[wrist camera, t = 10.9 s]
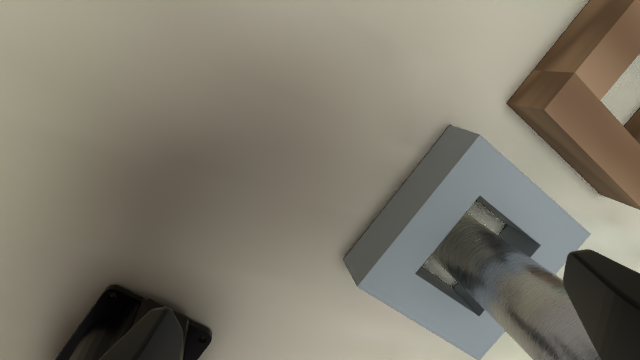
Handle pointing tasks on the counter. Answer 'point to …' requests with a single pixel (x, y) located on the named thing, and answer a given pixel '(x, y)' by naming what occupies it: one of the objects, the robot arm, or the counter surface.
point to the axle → (515, 292)
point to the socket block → (438, 220)
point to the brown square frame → (589, 98)
